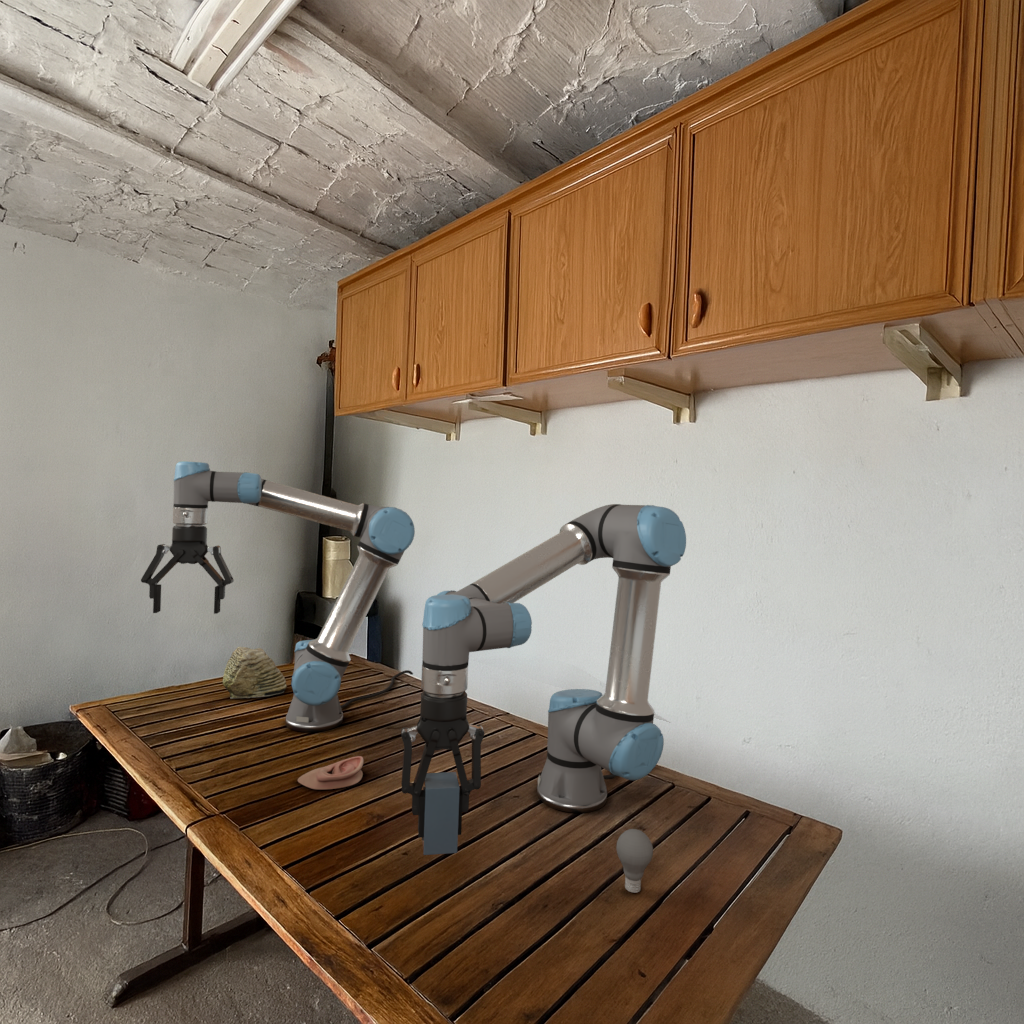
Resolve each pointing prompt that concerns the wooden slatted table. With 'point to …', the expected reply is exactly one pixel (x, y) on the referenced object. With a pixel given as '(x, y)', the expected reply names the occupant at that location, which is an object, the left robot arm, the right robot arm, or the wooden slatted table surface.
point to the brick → (441, 813)
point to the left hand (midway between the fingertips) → (187, 612)
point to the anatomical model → (334, 775)
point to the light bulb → (634, 857)
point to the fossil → (252, 674)
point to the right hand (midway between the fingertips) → (439, 831)
